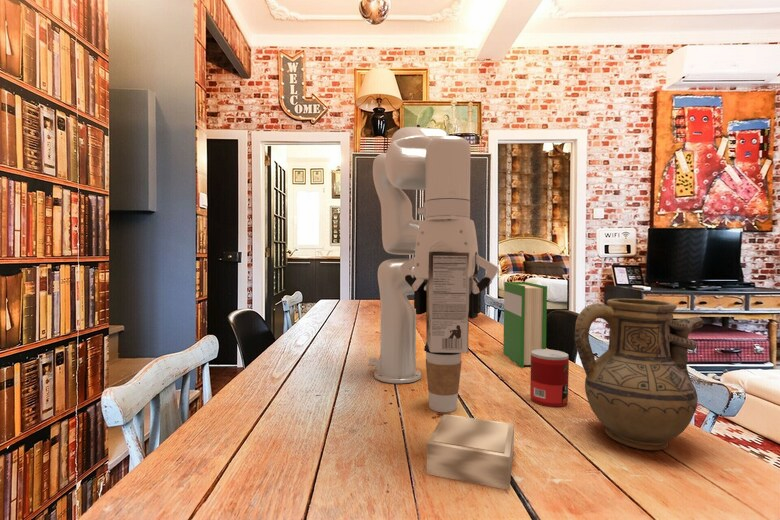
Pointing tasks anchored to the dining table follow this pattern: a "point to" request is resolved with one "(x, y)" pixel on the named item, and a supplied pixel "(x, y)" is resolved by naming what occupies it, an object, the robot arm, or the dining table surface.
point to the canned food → (549, 377)
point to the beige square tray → (472, 451)
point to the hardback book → (524, 320)
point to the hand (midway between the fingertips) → (446, 315)
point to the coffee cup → (443, 379)
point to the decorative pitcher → (639, 371)
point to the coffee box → (447, 302)
